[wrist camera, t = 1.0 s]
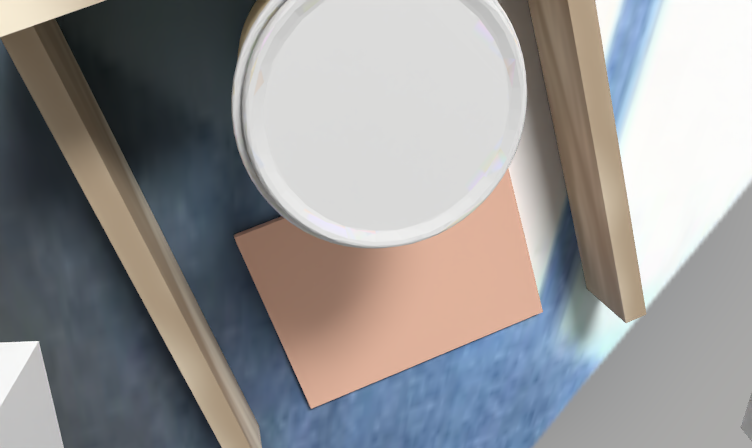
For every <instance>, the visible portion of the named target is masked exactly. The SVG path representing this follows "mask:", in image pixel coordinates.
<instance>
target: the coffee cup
mask: <svg viewBox="0 0 752 448" xmlns="http://www.w3.org/2000/svg"><path fill="white" fill-rule="evenodd" d="M526 105H527V85H526V71H525V65H524V59H523V54H522V51H521V47H520V44H519V40H518V38H517V35H516V33H515V30H514V28H513V26H512V24H511V22H510V20H509V18H508V16H507V14H506V13H505V11H504V10H503V8H502V7H501V5H500V4H499V3H498V1H497V0H256V2H255V4H254V5H253V7H252V8H251V10H250V12H249V14H248V16H247V18H246V21H245V23H244V26H243V29H242V32H241V37H240V41H239V49H238V59H237V65H236V69H235V74H234V78H233V87H232V96H231V107H232V122H233V130H234V135H235V139H236V144H237V148H238V151H239V153H240V156H241V159H242V162H243V164H244V166H245V168H246V170H247V172H248V174H249V176H250V178H251V180H252V181H253V183H254V184H255V186H256V187H257V189H258V191H259V192H260V193H261V194H262V196H263V197H264V198H265V199H266V200H267V202H268V203H269V204H270V205H271V206H272V207H273V208H274V209H275V210H276V211H277V212H278V213H279V214H280V215H281V216H282V217H284V218H285V219H286V220H288V221H289V222H290V223H292V224H293V225H295V226H296V227H298V228H299V229H301V230H303V231H304V232H306V233H308V234H310V235H312V236H315V237H317V238H319V239H322V240H325V241H328V242H330V243H334V244H338V245H342V246H347V247H355V248H375V249H376V248H388V247H397V246H403V245H409V244H413V243H416V242H419V241H422V240H425V239H428V238H431V237H433V236H436V235H438V234H440V233H442V232H444V231H445V230H447V229H449V228H451V227H453V226H454V225H456V224H457V223H459V222H460V221H462V220H463V219H464V218H466V217H467V216H468V215H469V214H471V213H472V212H473V211H474V210H475V209H476V208H477V207H479V206H480V205H481V204H482V203H483V202H484V201H485V200H486V198H487V197H488V196H489V195H490V194H491V193H492V191H493V190H494V189H495V187H496V186H497V185H498V183H499V182H500V181H501V179H502V178H503V176H504V174H505V172H506V171H507V169H508V167H509V165H510V163H511V161H512V159H513V157H514V155H515V153H516V150H517V147H518V144H519V141H520V138H521V134H522V130H523V126H524V121H525V114H526Z"/></svg>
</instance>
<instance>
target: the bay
mask: <svg viewBox="0 0 752 448" xmlns="http://www.w3.org/2000/svg"><path fill="white" fill-rule="evenodd" d="M102 1H105V0H0V38H1V40H2V42H3V44H4V45H5V47H6V49H7V51H8V53H9V55H10V57H11V58H12V60H13V62H14V64H15V66H16V68H17V70H18V71H19V73H20V75H21V77H22V79H23V81H24V82H25V84H26V86H27V88H28V90H29V92H30V94H31V95H32V97H33V99H34V101H35V103H36V105H37V107H38V108H39V110H40V112H41V114H42V116H43V118H44V119H45V121H46V123H47V125H48V127H49V129H50V131H51V132H52V134H53V136H54V138H55V140H56V142H57V144H58V145H59V147H60V149H61V151H62V153H63V155H64V156H65V158H66V160H67V162H68V164H69V166H70V168H71V169H72V171H73V173H74V175H75V177H76V179H77V181H78V182H79V184H80V186H81V188H82V190H83V192H84V193H85V195H86V197H87V199H88V201H89V203H90V205H91V206H92V208H93V210H94V212H95V214H96V216H97V218H98V219H99V221H100V223H101V225H102V227H103V229H104V230H105V232H106V234H107V236H108V238H109V240H110V242H111V243H112V245H113V247H114V249H115V251H116V253H117V255H118V256H119V258H120V260H121V262H122V264H123V266H124V267H125V269H126V271H127V273H128V275H129V277H130V279H131V280H132V282H133V284H134V286H135V288H136V290H137V292H138V293H139V295H140V297H141V299H142V301H143V303H144V304H145V306H146V308H147V310H148V312H149V314H150V316H151V317H152V319H153V321H154V323H155V325H156V327H157V329H158V330H159V332H160V334H161V336H162V338H163V340H164V341H165V343H166V345H167V347H168V349H169V351H170V353H171V354H172V356H173V358H174V360H175V362H176V364H177V366H178V367H179V369H180V371H181V373H182V375H183V377H184V378H185V380H186V382H187V384H188V386H189V388H190V390H191V391H192V393H193V395H194V397H195V399H196V401H197V403H198V404H199V406H200V408H201V410H202V412H203V414H204V415H205V417H206V419H207V421H208V423H209V425H210V427H211V428H212V430H213V432H214V434H215V436H216V438H217V440H218V441H219V443H220V445H221V447H222V448H262V446H261V438H260V431H259V425H258V423H257V421H256V419H255V417H254V415H253V413H252V411H251V409H250V407H249V405H248V403H247V401H246V399H245V397H244V395H243V393H242V391H241V389H240V387H239V385H238V383H237V381H236V379H235V377H234V375H233V373H232V371H231V369H230V367H229V365H228V363H227V361H226V359H225V357H224V355H223V353H222V351H221V349H220V347H219V345H218V343H217V341H216V339H215V337H214V335H213V333H212V331H211V329H210V327H209V325H208V323H207V321H206V319H205V317H204V315H203V313H202V311H201V309H200V307H199V305H198V303H197V301H196V299H195V297H194V295H193V293H192V291H191V289H190V287H189V285H188V283H187V281H186V279H185V277H184V275H183V273H182V271H181V269H180V267H179V265H178V263H177V261H176V259H175V257H174V255H173V253H172V251H171V249H170V247H169V245H168V243H167V241H166V239H165V237H164V235H163V233H162V231H161V229H160V227H159V225H158V223H157V221H156V219H155V217H154V215H153V213H152V211H151V209H150V207H149V205H148V203H147V201H146V199H145V197H144V195H143V193H142V191H141V189H140V187H139V185H138V183H137V181H136V179H135V177H134V175H133V173H132V171H131V169H130V167H129V165H128V163H127V161H126V159H125V157H124V155H123V153H122V151H121V149H120V147H119V145H118V143H117V141H116V139H115V137H114V135H113V133H112V131H111V129H110V127H109V125H108V123H107V121H106V119H105V117H104V115H103V113H102V111H101V109H100V107H99V105H98V103H97V101H96V99H95V97H94V95H93V93H92V91H91V89H90V87H89V85H88V83H87V81H86V79H85V77H84V75H83V73H82V71H81V69H80V67H79V65H78V63H77V61H76V59H75V57H74V55H73V53H72V51H71V49H70V47H69V45H68V43H67V41H66V39H65V37H64V35H63V33H62V31H61V29H60V27H59V25H58V23H57V21H56V19H55V18H57V17H59V16H62V15H65V14H68V13H71V12H74V11H77V10H79V9H82V8H85V7H88V6H91V5H94V4H97V3H100V2H102ZM528 4H529V8H530V13H531V18H532V23H533V28H534V33H535V38H536V43H537V48H538V52H539V57H540V62H541V67H542V72H543V77H544V82H545V87H546V91H547V96H548V101H549V106H550V111H551V116H552V121H553V126H554V131H555V135H556V140H557V145H558V150H559V155H560V160H561V165H562V170H563V175H564V179H565V184H566V189H567V194H568V199H569V204H570V209H571V214H572V218H573V223H574V228H575V233H576V238H577V243H578V248H579V253H580V258H581V262H582V267H583V272H584V277H585V282H586V287H587V289H588V290H589V291H590V292H591V293H592V294H593V295H595V296H596V297H597V298H598V299H599V300H600V301H601V302H602V303H604V304H605V305H606V306H607V307H608V308H609V309H610V310H612V311H613V312H614V313H615V314H616V315H617V316H618V317H620V318H621V319H622V320H623V321H624V322H625V323H627V322H630V321H632V320H634V319H637V318H639V317H641V316H644V315H646V309H645V303H644V297H643V291H642V285H641V279H640V273H639V266H638V260H637V254H636V248H635V242H634V236H633V230H632V224H631V218H630V211H629V205H628V199H627V193H626V187H625V181H624V175H623V169H622V163H621V156H620V150H619V144H618V138H617V132H616V126H615V120H614V114H613V108H612V101H611V95H610V89H609V83H608V77H607V71H606V65H605V59H604V52H603V46H602V40H601V34H600V28H599V22H598V16H597V10H596V4H595V0H528Z"/></svg>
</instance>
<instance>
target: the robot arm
mask: <svg viewBox="0 0 752 448" xmlns="http://www.w3.org/2000/svg"><path fill="white" fill-rule="evenodd" d="M741 429H742V430H743V431H744V432H745V434H746V435H747V436H748V437H749V438H750V440H751V441H752V394H751V397H750V400H749V403H748V407H747V410H746V413H745V416H744V419H743V422H742V425H741ZM0 448H64V447H63V443H62V438H61V434H60V430H59V426H58V421H57V417H56V413H55V408H54V404H53V400H52V396H51V391H50V387H49V383H48V379H47V374H46V370H45V366H44V362H43V357H42V353H41V349H40V344H39V341H31V342H5V343H0Z"/></svg>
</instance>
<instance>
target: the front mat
mask: <svg viewBox="0 0 752 448" xmlns="http://www.w3.org/2000/svg"><path fill="white" fill-rule="evenodd" d="M234 238H235V241H236V243H237V245H238V247H239V250H240V252H241V254H242V256H243V258H244V261H245V263H246V265H247V267H248V270H249V272H250V274H251V276H252V278H253V281H254V283H255V285H256V287H257V290H258V292H259V294H260V296H261V298H262V301H263V303H264V305H265V307H266V310H267V312H268V314H269V316H270V318H271V321H272V323H273V325H274V327H275V330H276V332H277V334H278V336H279V338H280V341H281V343H282V345H283V347H284V350H285V352H286V354H287V356H288V358H289V361H290V363H291V365H292V367H293V369H294V372H295V374H296V376H297V378H298V381H299V383H300V385H301V387H302V389H303V392H304V394H305V396H306V398H307V401H308V403H309V405H310V407H311V409H312V408H314V407H317V406H319V405H322V404H324V403H326V402H329V401H331V400H334V399H336V398H338V397H341V396H343V395H345V394H348V393H350V392H353V391H355V390H357V389H360V388H362V387H365V386H367V385H369V384H372V383H374V382H377V381H379V380H381V379H384V378H386V377H388V376H391V375H393V374H396V373H398V372H400V371H403V370H405V369H408V368H410V367H412V366H415V365H417V364H420V363H422V362H424V361H427V360H429V359H432V358H434V357H436V356H439V355H441V354H443V353H446V352H448V351H451V350H453V349H455V348H458V347H460V346H463V345H465V344H467V343H470V342H472V341H475V340H477V339H479V338H482V337H484V336H486V335H489V334H491V333H494V332H496V331H498V330H501V329H503V328H506V327H508V326H510V325H513V324H515V323H518V322H520V321H522V320H525V319H527V318H529V317H532V316H534V315H537V314H539V313H541V312H543V310H542V306H541V302H540V298H539V294H538V290H537V286H536V281H535V277H534V273H533V269H532V265H531V261H530V257H529V252H528V248H527V244H526V240H525V236H524V232H523V228H522V224H521V219H520V215H519V211H518V207H517V203H516V199H515V195H514V190H513V186H512V182H511V178H510V174H509V170H508V169H507V171H506V172H505V174H504V176H503V178H502V179H501V181H500V182H499V183H498V185H497V186H496V187H495V189H494V190H493V191H492V193H491V194H490V195H489V196H488V197H487V198H486V200H485V201H484V202H483V203H482V204H481V205H480V206H479V207H477V208H476V209H475V210H474V211H473V212H472V213H471V214H469V215H468V216H467V217H466V218H464V219H463V220H462V221H460V222H459V223H457V224H456V225H454V226H453V227H451V228H449V229H447V230H445V231H444V232H442V233H440V234H438V235H436V236H433V237H431V238H428V239H425V240H422V241H419V242H416V243H413V244H409V245H403V246H397V247H388V248H376V249H375V248H355V247H347V246H342V245H338V244H334V243H330V242H328V241H325V240H322V239H319V238H317V237H315V236H312V235H310V234H308V233H306V232H304V231H303V230H301V229H299V228H298V227H296V226H295V225H293V224H292V223H290V222H289V221H288V220H286V219H285V218H284V217H282V216H281V217H278V218H276V219H273V220H271V221H268V222H265V223H263V224H260V225H258V226H255V227H253V228H250V229H247V230H245V231H242V232H240V233H237V234H235V235H234Z"/></svg>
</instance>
